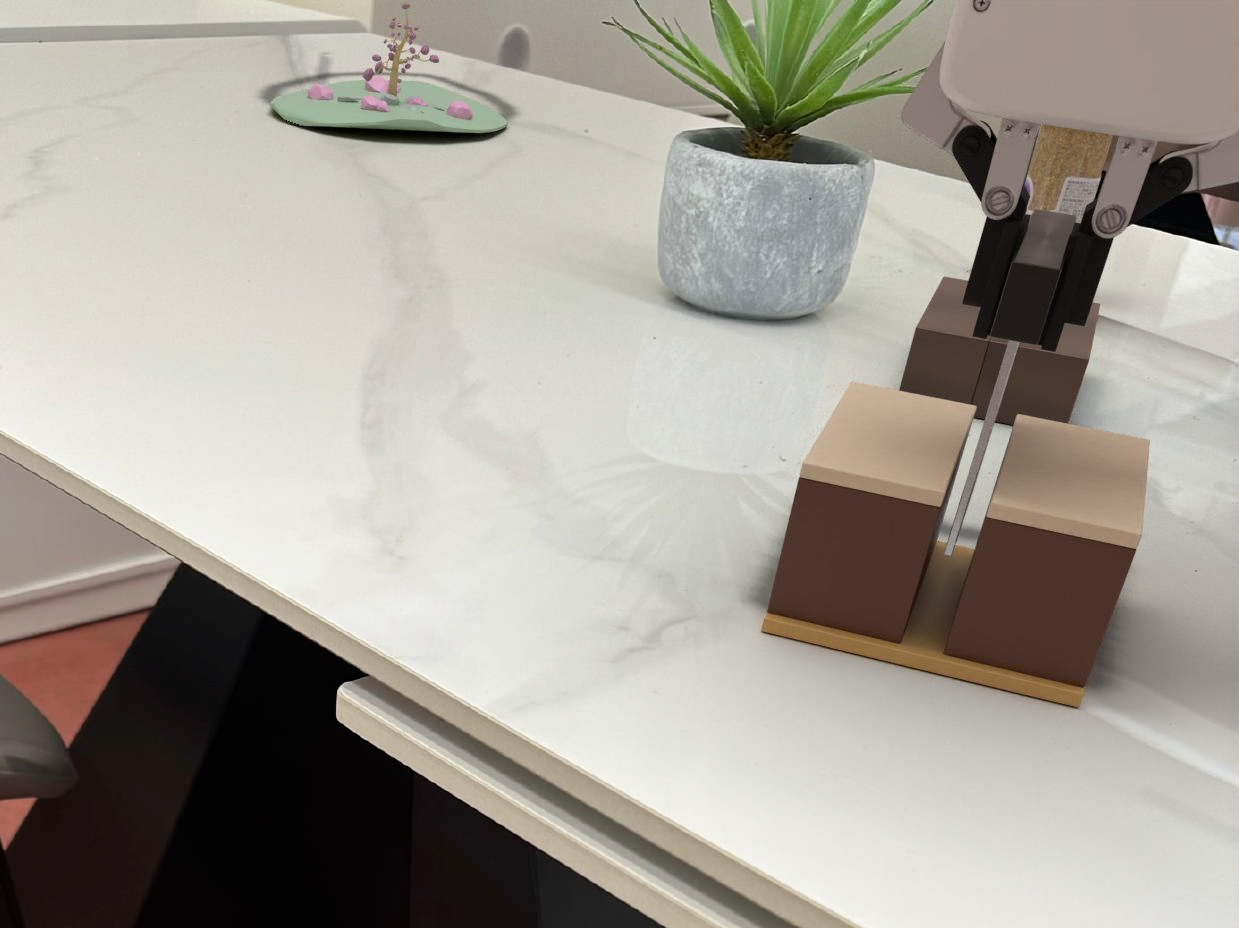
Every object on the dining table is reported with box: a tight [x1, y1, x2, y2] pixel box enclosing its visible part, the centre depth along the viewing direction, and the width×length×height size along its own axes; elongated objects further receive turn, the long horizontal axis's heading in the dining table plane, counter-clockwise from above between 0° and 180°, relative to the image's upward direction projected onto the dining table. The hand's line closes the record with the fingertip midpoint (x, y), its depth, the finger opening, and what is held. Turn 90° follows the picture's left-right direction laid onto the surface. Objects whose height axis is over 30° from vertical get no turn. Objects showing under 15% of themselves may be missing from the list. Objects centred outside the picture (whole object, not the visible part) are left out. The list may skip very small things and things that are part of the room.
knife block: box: [898, 276, 1101, 426], centre depth 90 cm, size 12×9×4 cm
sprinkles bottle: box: [1025, 124, 1114, 223], centre depth 101 cm, size 5×5×14 cm
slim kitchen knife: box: [944, 209, 1077, 556], centre depth 61 cm, size 10×2×10 cm, turn 157°
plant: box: [269, 2, 509, 134], centre depth 140 cm, size 25×21×9 cm
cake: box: [760, 381, 1151, 708], centre depth 65 cm, size 12×12×7 cm
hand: (1017, 332), depth 60 cm, fingers closed on slim kitchen knife, 1 cm apart
